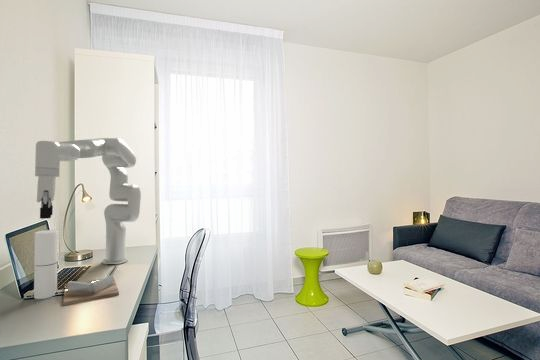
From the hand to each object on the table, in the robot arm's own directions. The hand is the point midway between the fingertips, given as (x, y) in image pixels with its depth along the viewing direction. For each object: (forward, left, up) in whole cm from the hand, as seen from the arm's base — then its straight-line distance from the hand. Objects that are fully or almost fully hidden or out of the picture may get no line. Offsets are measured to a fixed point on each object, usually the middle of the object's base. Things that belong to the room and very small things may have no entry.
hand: (46, 216), depth 112 cm
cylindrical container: (0, 0, -31) cm, 31 cm away
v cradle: (+4, +15, -31) cm, 35 cm away
